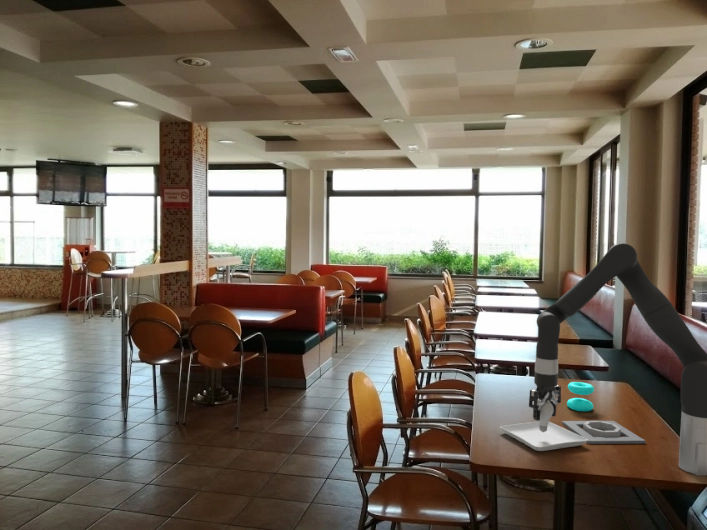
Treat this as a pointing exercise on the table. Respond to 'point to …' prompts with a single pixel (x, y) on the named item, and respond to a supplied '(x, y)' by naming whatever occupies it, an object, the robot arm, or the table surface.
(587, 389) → the donuts
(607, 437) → the bulb socket stand
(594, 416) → the table surface
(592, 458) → the table surface
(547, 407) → the lightbulb
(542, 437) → the salad plate
